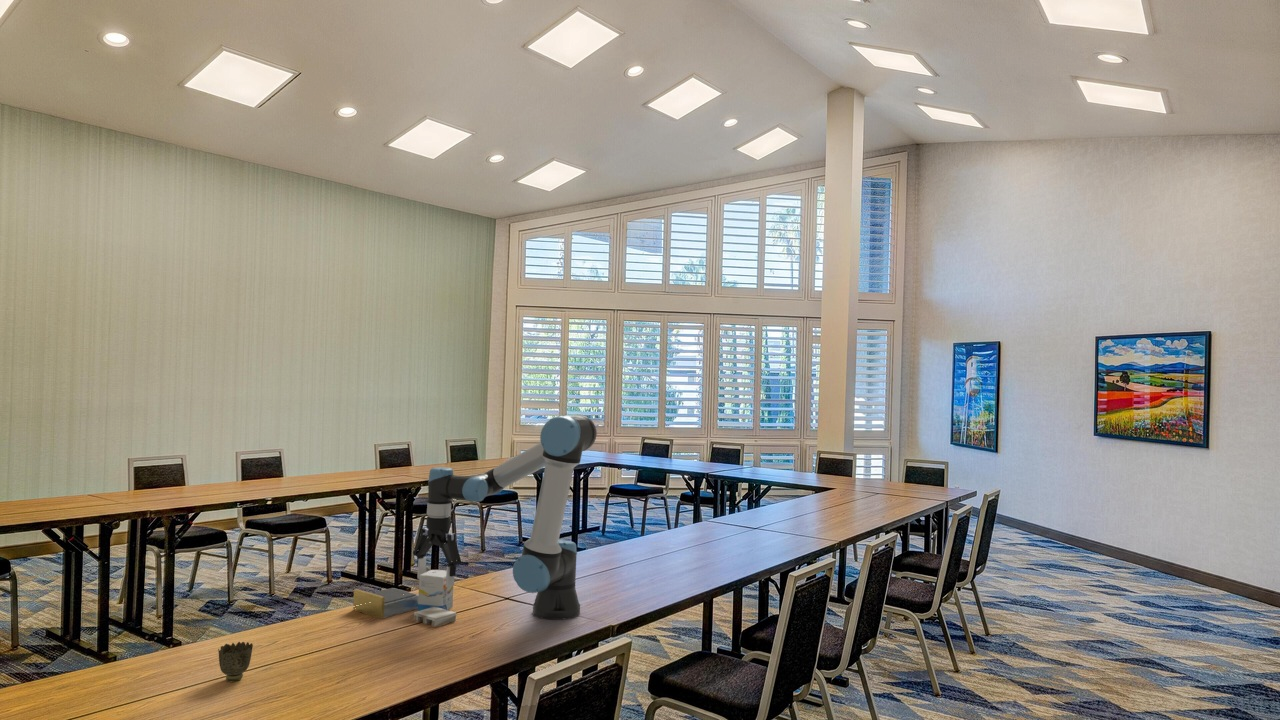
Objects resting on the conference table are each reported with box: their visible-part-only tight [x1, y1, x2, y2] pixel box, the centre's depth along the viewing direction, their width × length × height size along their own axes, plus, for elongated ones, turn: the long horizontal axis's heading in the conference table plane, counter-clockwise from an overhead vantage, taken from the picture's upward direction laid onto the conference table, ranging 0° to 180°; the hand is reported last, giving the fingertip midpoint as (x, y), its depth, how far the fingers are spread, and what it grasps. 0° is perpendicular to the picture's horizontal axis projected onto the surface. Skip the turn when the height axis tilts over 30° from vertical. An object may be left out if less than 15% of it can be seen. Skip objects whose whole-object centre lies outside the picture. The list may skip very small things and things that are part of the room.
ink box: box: [417, 569, 454, 611], centre depth 248 cm, size 9×8×12 cm
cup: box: [217, 641, 254, 682], centre depth 187 cm, size 8×7×8 cm
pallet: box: [413, 607, 457, 628], centre depth 237 cm, size 10×8×2 cm
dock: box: [352, 587, 419, 619], centre depth 247 cm, size 14×15×6 cm
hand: (435, 582), depth 249 cm, fingers open, 13 cm apart
